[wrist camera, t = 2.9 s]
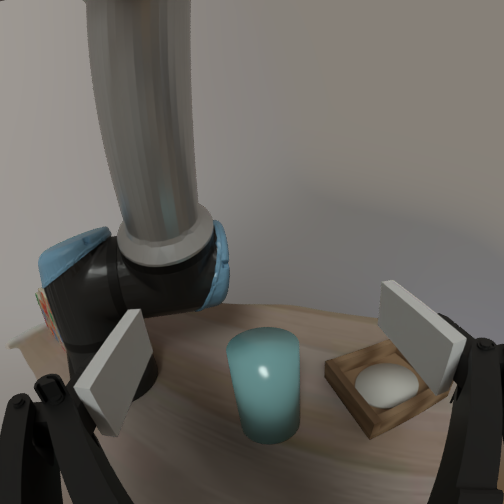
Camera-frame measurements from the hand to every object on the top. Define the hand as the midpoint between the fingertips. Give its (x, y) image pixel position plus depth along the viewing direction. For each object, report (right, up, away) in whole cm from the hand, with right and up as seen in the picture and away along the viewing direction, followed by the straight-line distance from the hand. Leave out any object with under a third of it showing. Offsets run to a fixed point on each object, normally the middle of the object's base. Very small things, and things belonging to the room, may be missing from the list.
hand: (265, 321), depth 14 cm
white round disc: (+17, -15, +17) cm, 28 cm away
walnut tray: (+17, -15, +17) cm, 28 cm away
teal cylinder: (+2, -17, +15) cm, 23 cm away
